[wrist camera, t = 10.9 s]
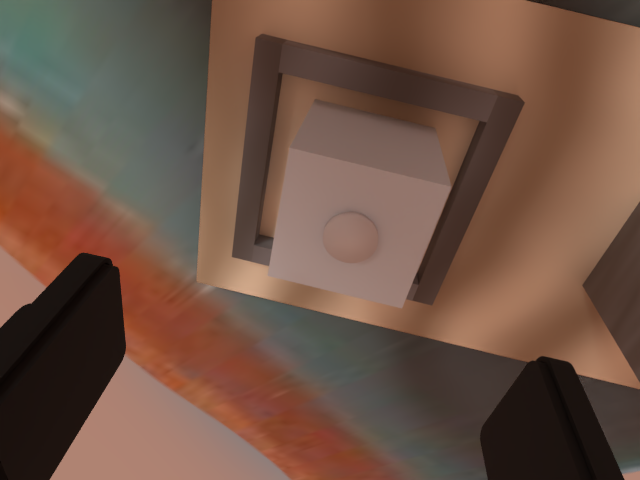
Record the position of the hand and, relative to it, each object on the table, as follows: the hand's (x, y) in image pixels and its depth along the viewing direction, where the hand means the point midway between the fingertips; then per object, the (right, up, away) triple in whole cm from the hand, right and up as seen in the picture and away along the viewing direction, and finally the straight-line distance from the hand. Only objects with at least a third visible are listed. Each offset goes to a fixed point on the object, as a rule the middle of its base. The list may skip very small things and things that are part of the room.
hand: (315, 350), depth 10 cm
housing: (+2, +6, +9) cm, 11 cm away
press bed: (+7, +5, +11) cm, 13 cm away
